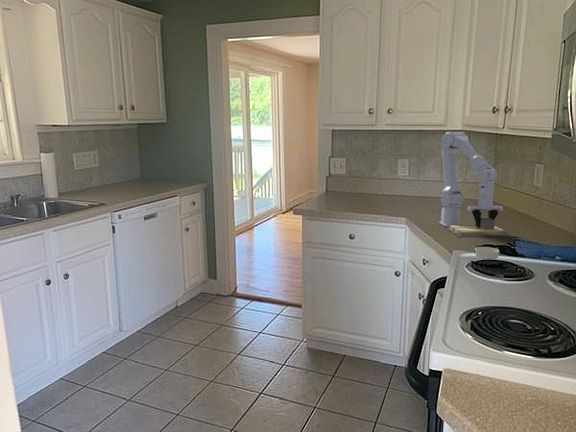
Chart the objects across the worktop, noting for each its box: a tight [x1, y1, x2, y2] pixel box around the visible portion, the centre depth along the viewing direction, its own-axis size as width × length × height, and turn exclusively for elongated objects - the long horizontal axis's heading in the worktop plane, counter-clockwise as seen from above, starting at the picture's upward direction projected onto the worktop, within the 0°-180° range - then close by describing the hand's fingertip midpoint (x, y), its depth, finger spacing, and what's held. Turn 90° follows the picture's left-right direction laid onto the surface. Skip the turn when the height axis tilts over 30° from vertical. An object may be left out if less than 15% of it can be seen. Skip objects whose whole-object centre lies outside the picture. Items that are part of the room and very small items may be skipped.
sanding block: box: [474, 216, 496, 230], centre depth 192 cm, size 8×4×4 cm, turn 3°
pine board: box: [443, 224, 514, 238], centre depth 193 cm, size 18×23×2 cm
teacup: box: [474, 246, 500, 259], centre depth 147 cm, size 10×10×5 cm
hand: (483, 226), depth 193 cm, fingers closed on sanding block, 5 cm apart
